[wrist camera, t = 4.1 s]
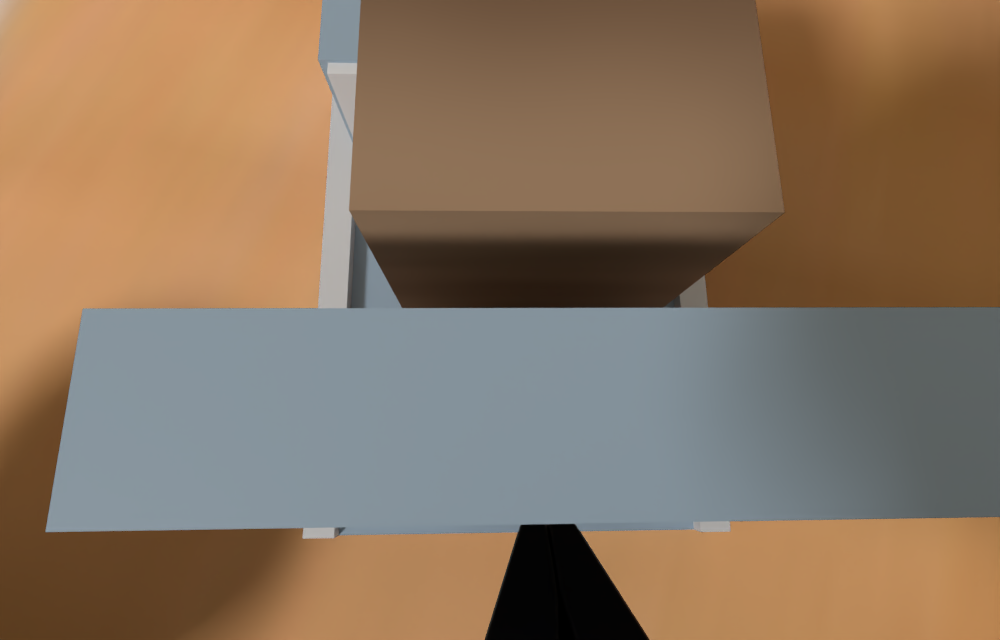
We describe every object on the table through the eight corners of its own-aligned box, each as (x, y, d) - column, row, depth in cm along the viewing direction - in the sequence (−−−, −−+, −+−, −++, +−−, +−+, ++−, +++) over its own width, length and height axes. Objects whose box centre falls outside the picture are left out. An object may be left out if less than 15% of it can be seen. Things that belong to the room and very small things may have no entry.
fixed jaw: (662, 169, 18) (723, 76, 13) (358, 167, 17) (316, 70, 13) (657, 105, 18) (714, -5, 14) (362, 102, 18) (323, -12, 13)
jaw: (697, 473, 15) (1107, 514, 5) (336, 478, 15) (45, 531, 5) (689, 387, 15) (1048, 279, 6) (341, 390, 15) (88, 278, 5)
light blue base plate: (710, 525, 16) (730, 531, 15) (317, 531, 16) (302, 538, 14) (670, 97, 19) (684, 71, 18) (344, 92, 19) (334, 66, 17)
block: (600, 356, 16) (785, 212, 6) (428, 357, 16) (348, 210, 6) (594, 228, 17) (745, -67, 7) (431, 227, 17) (365, -78, 7)
